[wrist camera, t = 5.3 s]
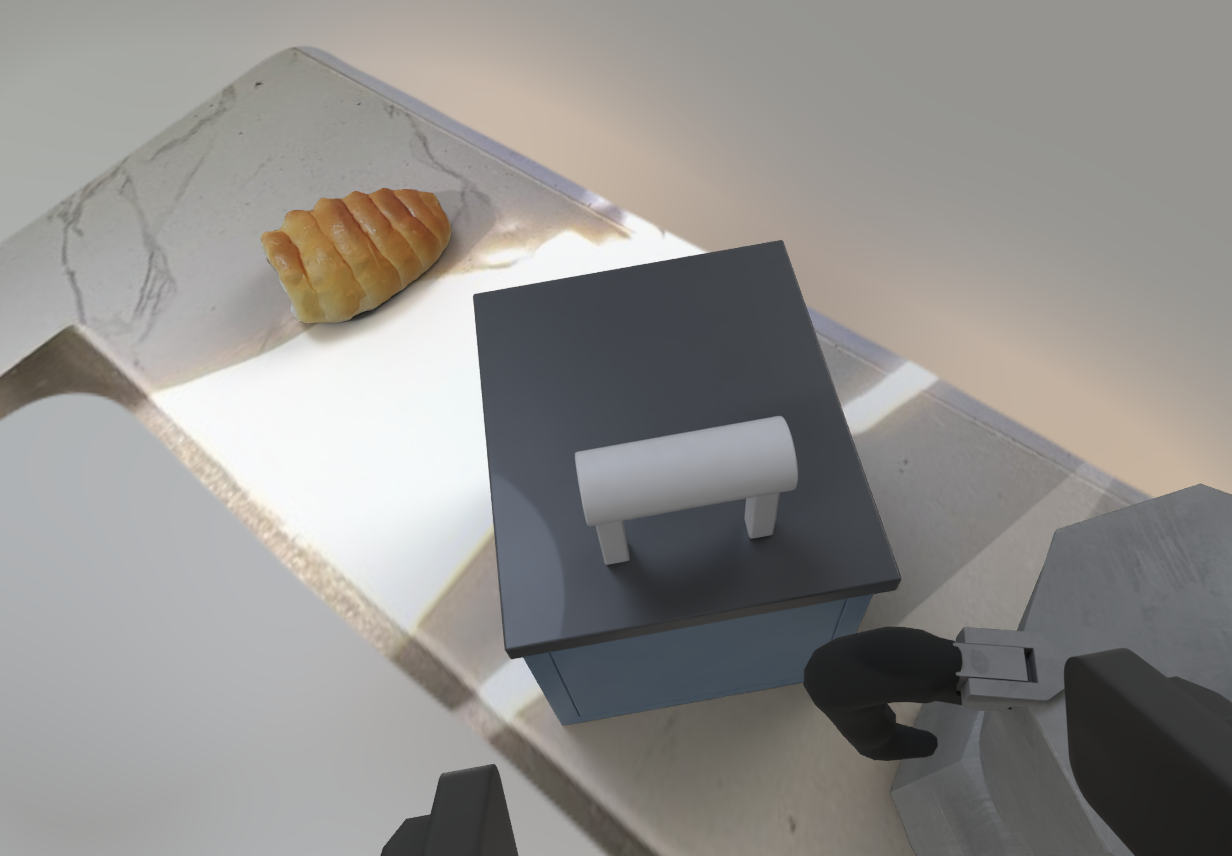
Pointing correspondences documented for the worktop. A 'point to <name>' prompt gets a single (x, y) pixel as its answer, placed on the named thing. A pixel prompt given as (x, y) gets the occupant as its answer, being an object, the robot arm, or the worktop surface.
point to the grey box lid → (668, 453)
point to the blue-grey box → (690, 661)
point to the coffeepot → (1035, 679)
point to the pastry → (355, 251)
